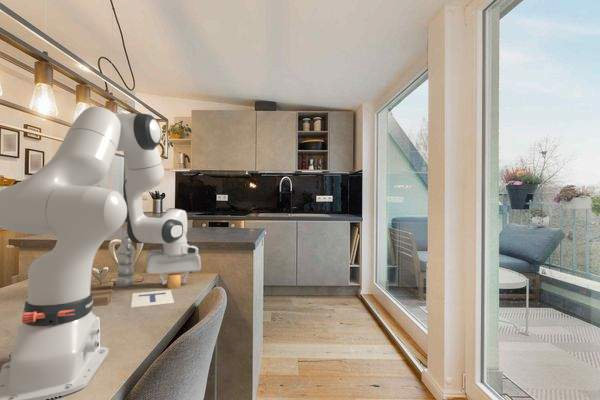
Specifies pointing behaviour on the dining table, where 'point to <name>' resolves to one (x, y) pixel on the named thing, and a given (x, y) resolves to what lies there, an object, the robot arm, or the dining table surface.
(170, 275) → the orange cylinder
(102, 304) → the walnut block
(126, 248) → the plastic bottle
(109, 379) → the dining table surface
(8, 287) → the dining table surface
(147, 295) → the letter card
